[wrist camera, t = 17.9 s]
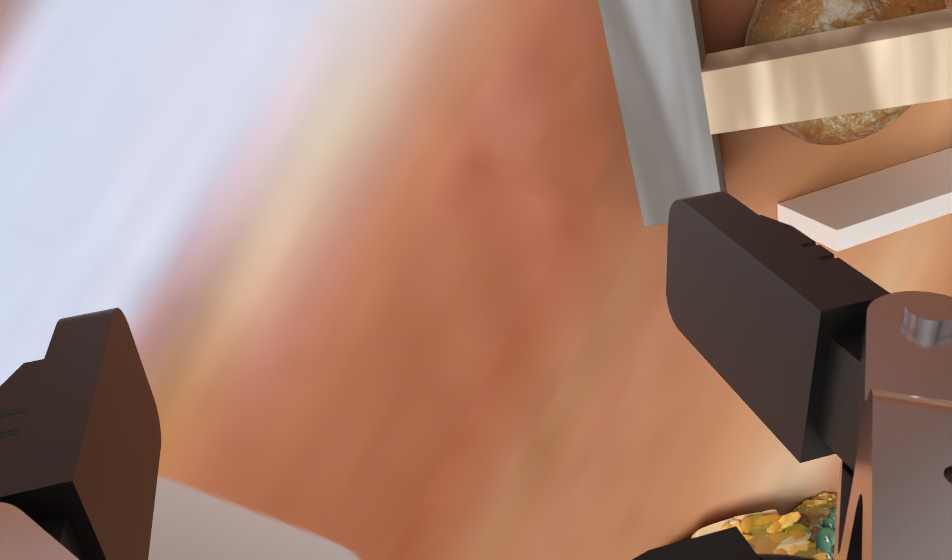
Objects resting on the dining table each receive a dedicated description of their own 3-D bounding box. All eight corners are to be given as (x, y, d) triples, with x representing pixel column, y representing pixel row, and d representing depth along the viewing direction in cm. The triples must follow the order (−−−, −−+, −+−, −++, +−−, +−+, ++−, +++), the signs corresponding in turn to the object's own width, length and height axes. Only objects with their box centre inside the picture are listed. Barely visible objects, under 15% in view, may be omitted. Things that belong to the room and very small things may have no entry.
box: (778, 223, 47) (837, 251, 43) (760, -129, 40) (830, -139, 35) (969, 160, 50) (1043, 181, 45) (987, -183, 42) (1079, -199, 38)
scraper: (643, 228, 42) (1064, 183, 35) (594, -8, 37) (1077, -120, 30) (651, 203, 45) (1047, 156, 38) (606, -23, 40) (1056, -128, 32)
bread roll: (689, 8, 45) (718, 73, 39) (869, -133, 41) (935, -84, 34) (783, 129, 50) (823, 205, 43) (955, 15, 45) (1028, 83, 39)
